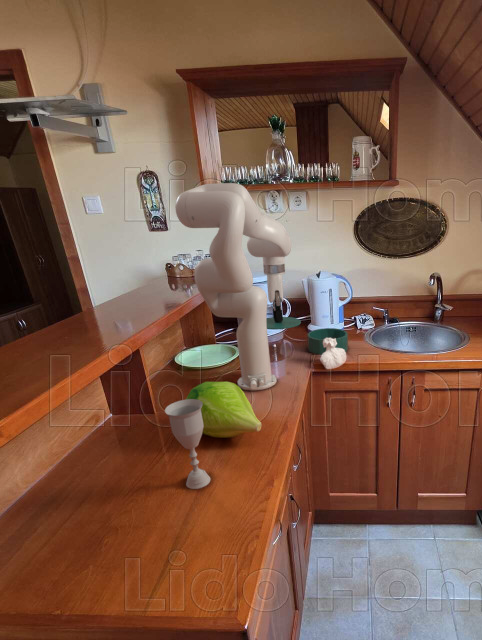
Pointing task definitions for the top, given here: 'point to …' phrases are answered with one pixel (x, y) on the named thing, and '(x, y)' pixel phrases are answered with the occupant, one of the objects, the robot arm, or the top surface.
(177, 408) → the chalice
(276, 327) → the lid
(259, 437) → the top surface
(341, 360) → the white lumpy round piece
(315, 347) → the pot
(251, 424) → the lettuce
